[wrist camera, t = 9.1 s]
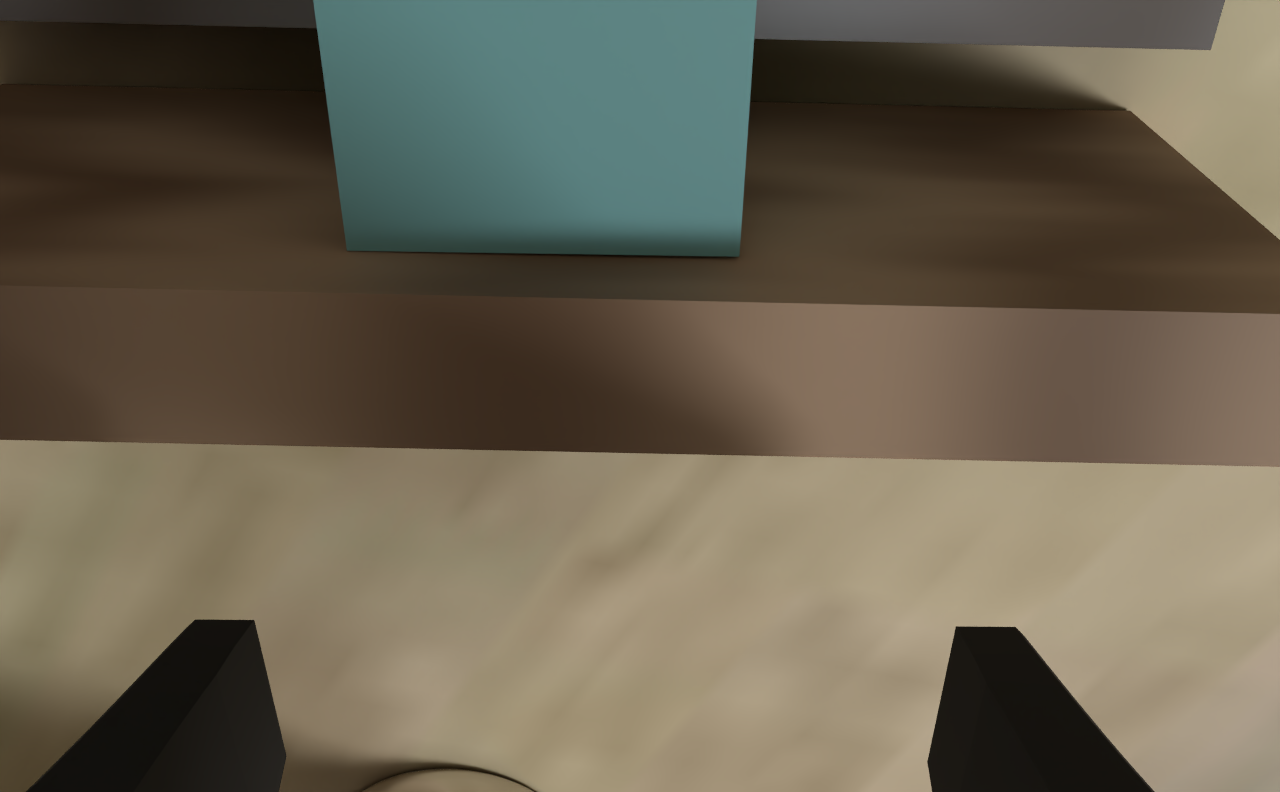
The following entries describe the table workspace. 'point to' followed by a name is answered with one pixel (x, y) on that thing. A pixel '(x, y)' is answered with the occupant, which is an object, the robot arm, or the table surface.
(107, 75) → the table surface
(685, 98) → the teal rectangular block
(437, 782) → the beer glass
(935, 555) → the table surface
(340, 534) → the table surface
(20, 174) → the brown wooden ledge block
